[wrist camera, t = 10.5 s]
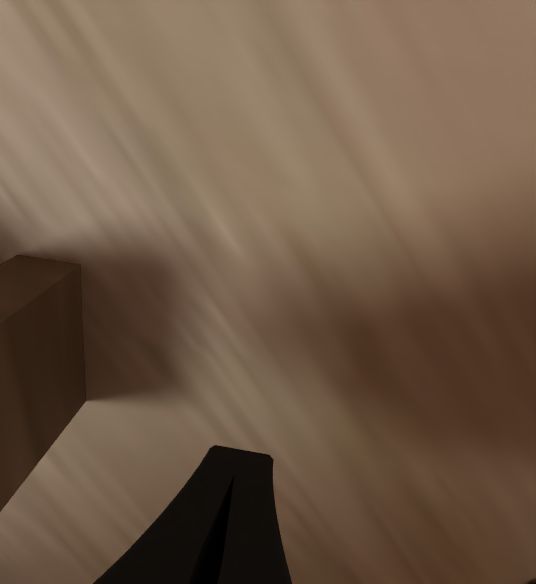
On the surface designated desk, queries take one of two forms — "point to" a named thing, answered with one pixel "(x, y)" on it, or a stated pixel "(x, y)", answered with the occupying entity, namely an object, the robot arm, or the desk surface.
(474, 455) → the desk surface
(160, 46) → the desk surface
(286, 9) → the desk surface
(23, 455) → the domino
